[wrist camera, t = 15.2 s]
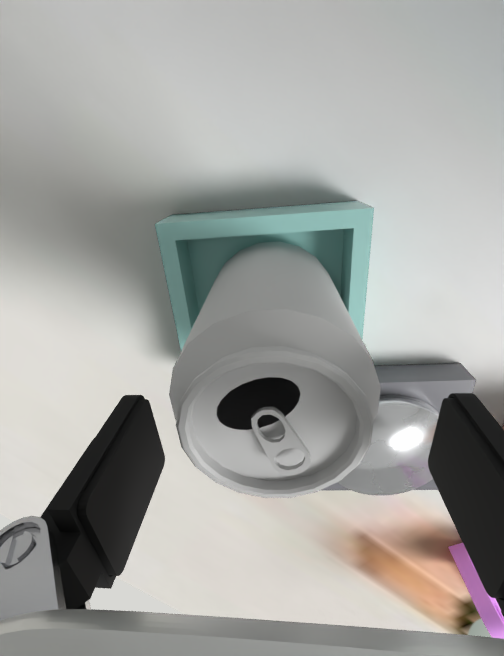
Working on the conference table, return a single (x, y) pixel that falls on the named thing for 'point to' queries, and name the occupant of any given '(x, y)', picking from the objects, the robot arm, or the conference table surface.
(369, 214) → the trough
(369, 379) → the can
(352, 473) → the checker pad
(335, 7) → the conference table surface
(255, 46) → the conference table surface
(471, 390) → the base
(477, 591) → the bracket
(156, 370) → the conference table surface
